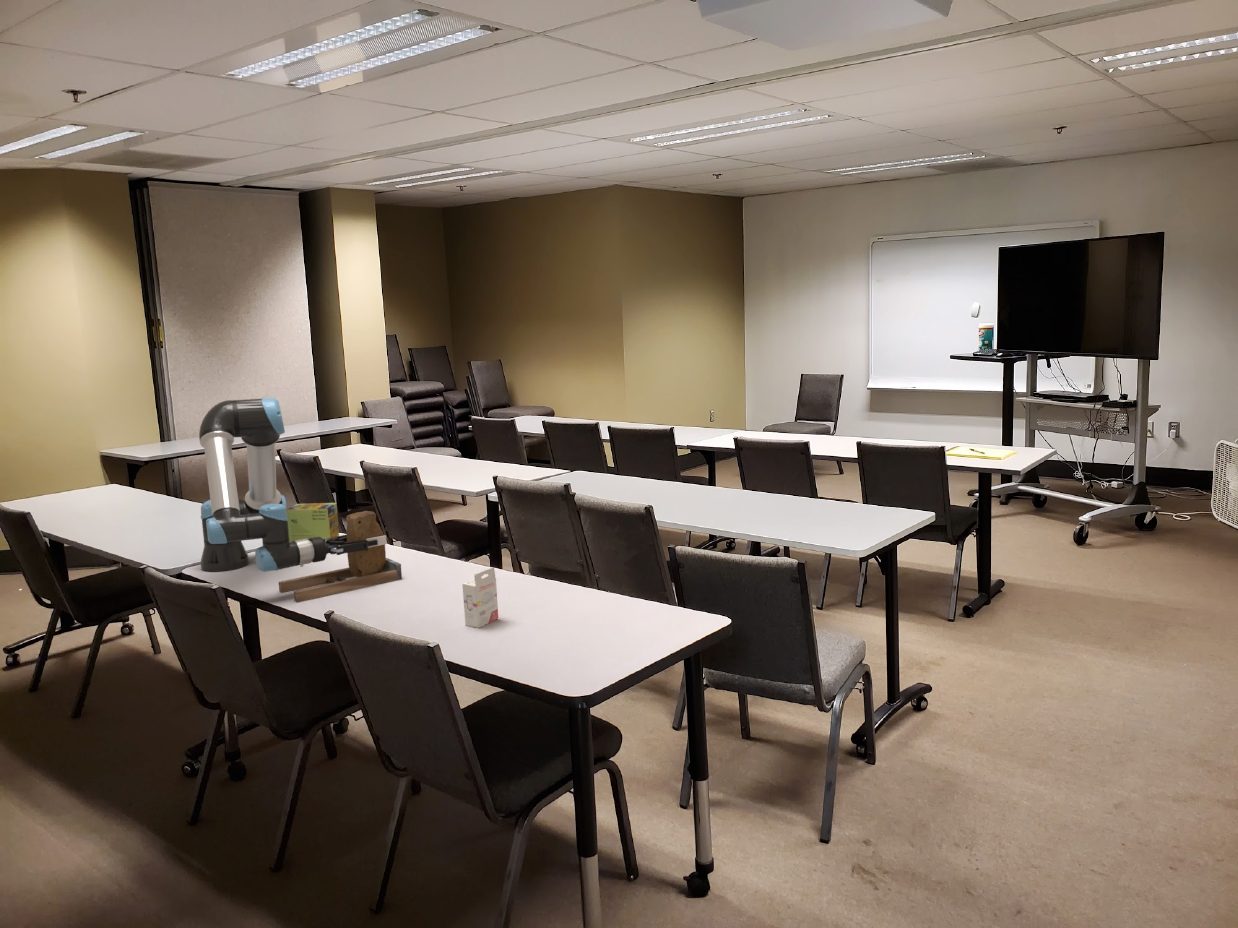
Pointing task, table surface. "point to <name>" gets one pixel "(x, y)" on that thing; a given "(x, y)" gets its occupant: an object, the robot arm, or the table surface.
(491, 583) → the ink cartridge box
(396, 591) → the table surface
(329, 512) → the protein box
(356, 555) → the block
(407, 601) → the table surface
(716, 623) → the table surface
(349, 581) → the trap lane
